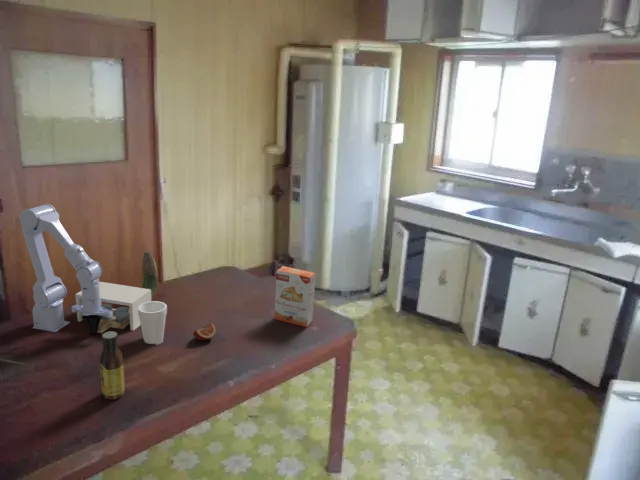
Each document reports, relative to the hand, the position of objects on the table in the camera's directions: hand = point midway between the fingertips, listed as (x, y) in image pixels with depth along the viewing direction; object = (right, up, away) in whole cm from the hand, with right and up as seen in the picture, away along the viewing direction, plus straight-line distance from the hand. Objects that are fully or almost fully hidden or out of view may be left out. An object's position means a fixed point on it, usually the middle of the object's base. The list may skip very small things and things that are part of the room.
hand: (93, 332), depth 185 cm
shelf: (+3, +3, +13) cm, 13 cm away
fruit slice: (+38, -3, +3) cm, 38 cm away
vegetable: (+9, +9, +33) cm, 35 cm away
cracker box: (+69, +1, +21) cm, 72 cm away
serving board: (+2, +2, +9) cm, 9 cm away
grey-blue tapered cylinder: (+6, +3, +11) cm, 13 cm away
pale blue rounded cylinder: (-1, +4, +12) cm, 13 cm away
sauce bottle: (+19, -13, -31) cm, 39 cm away
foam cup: (+21, -3, 0) cm, 21 cm away
